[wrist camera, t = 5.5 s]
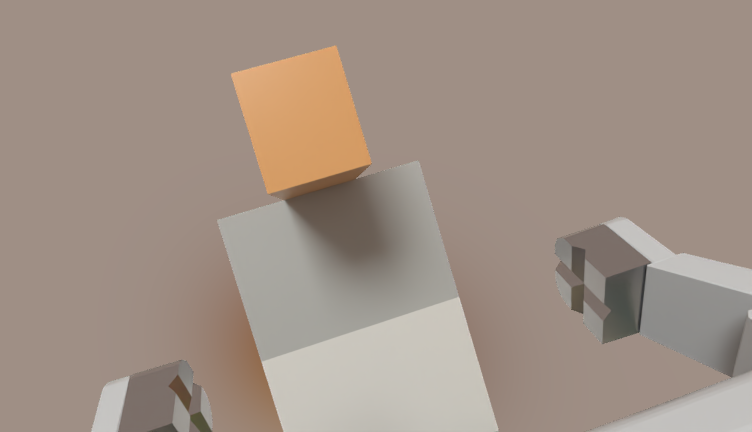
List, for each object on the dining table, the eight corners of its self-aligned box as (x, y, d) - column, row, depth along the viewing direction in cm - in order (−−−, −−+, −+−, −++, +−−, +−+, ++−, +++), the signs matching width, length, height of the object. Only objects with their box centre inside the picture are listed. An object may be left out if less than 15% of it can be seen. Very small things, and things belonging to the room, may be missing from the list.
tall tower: (389, 768, 25) (217, 220, 24) (366, 590, 37) (250, 217, 36) (575, 689, 26) (418, 160, 25) (495, 540, 38) (386, 177, 37)
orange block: (268, 194, 17) (230, 73, 16) (295, 204, 36) (278, 149, 36) (371, 163, 17) (336, 45, 17) (343, 190, 37) (326, 136, 37)
